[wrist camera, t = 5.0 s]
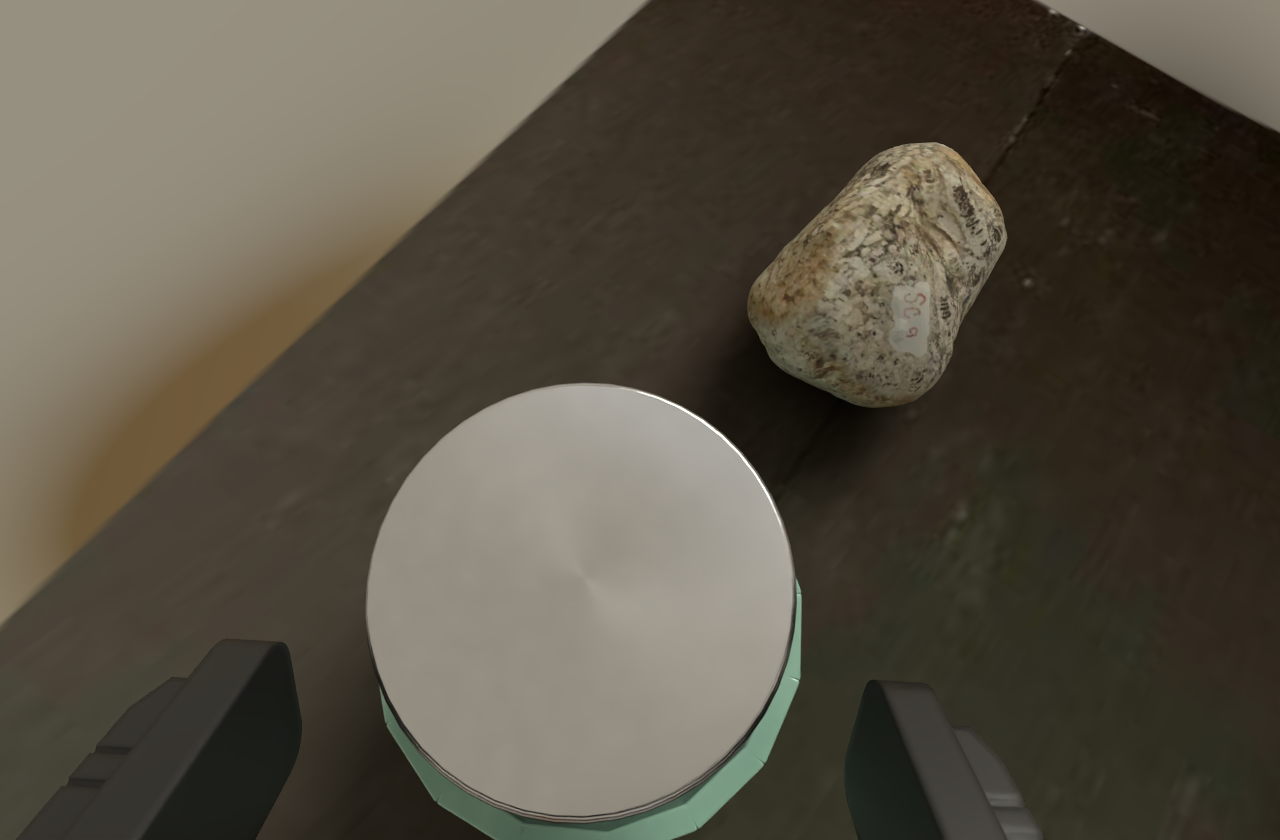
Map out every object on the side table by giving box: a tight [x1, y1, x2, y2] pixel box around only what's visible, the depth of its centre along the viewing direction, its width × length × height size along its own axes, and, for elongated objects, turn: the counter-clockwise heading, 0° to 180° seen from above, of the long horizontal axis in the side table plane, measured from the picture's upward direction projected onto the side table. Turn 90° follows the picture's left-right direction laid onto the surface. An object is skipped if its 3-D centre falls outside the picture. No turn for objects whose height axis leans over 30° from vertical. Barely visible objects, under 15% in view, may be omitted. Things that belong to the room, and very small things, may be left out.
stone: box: [747, 143, 1007, 408], centre depth 21 cm, size 6×9×5 cm
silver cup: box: [365, 383, 797, 824], centre depth 14 cm, size 6×6×11 cm
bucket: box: [379, 579, 802, 840], centre depth 17 cm, size 9×9×6 cm
